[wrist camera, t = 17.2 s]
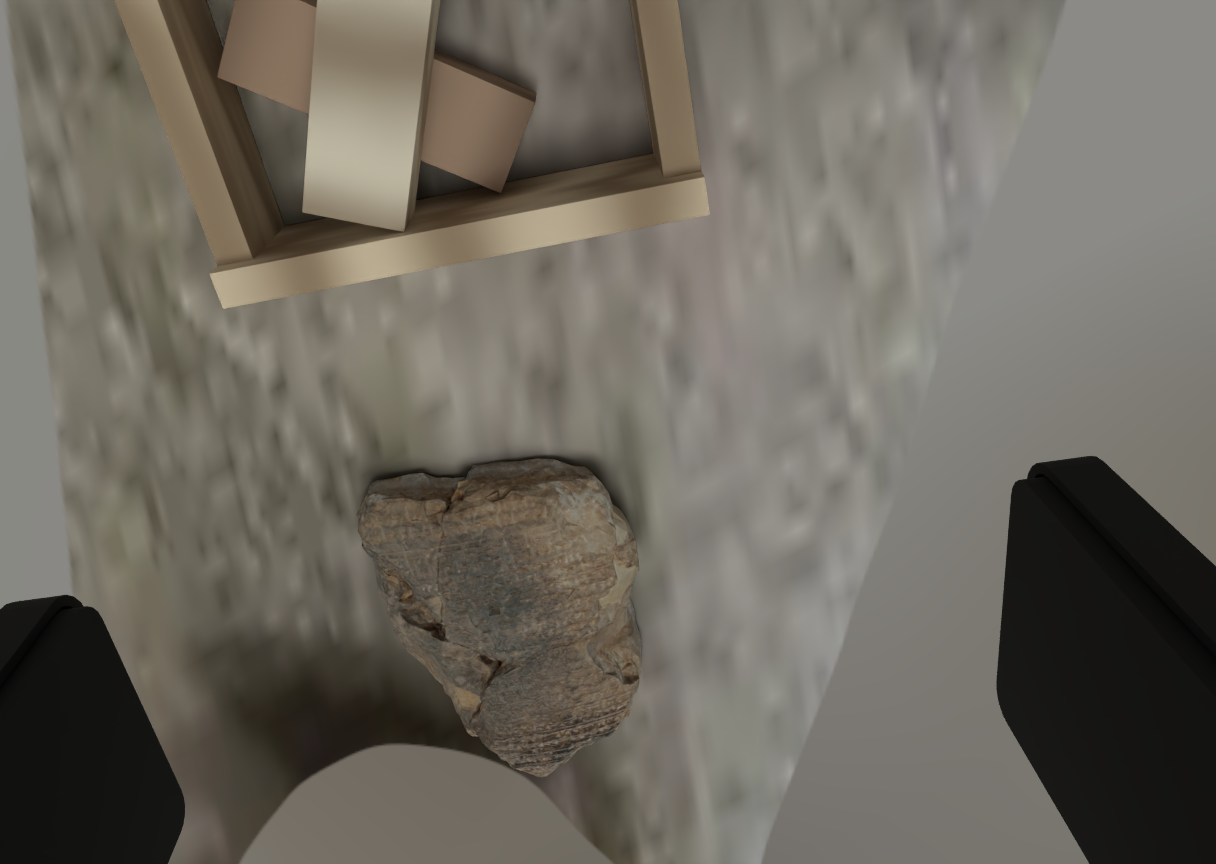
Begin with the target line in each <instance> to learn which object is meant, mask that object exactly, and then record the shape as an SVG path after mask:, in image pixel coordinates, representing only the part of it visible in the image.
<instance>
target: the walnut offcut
mask: <svg viewBox="0 0 1216 864" xmlns="http://www.w3.org/2000/svg"><path fill="white" fill-rule="evenodd" d="M316 9H317V0H235V2H234V7H233V11H232V15H231V20H230V24H229V28H228V33H227V37H226V41H225V46H224V50H223V54H222V58H221V63H220V67H219V71H218V76H217V77H218V78H220V79H223V80H225V81H228V82H230V83H233V84H235V85H238V86H240V87H242V88H245V89H247V90H250V91H252V92H255V93H257V94H260V95H262V96H264V97H267V98H269V99H272V100H274V101H277V102H279V103H282V104H284V105H286V106H289V107H291V108H294V109H296V110H299V111H301V112H304V113H306V114H308V115H309V109H310V95H311V81H312V66H313V52H314V38H315V23H316ZM535 101H536V93H534V92H532V91H529V90H527V89H525V88H523V87H520V86H518V85H516V84H513V83H511V82H509V81H507V80H504V79H502V78H500V77H497V76H495V75H493V74H491V73H488V72H486V71H484V70H481V69H479V68H477V67H475V66H472V65H470V64H468V63H465V62H463V61H461V60H459V59H456V58H454V57H452V56H449V55H447V54H445V53H443V52H440V51H438V50H436V49H435V50H434V58H433V66H432V74H431V82H430V91H429V99H428V107H427V115H426V123H425V131H424V139H423V147H422V156H421V161H423V162H426V163H428V164H431V165H433V166H436V167H438V168H441V169H443V170H445V171H448V172H450V173H453V174H455V175H458V176H460V177H463V178H465V179H467V180H470V181H472V182H475V183H477V184H480V185H482V186H485V187H487V188H489V189H492V190H494V191H497V192H499V193H501V192H502V189H503V187H504V184H505V182H506V179H507V176H508V174H509V171H510V168H511V166H512V163H513V160H514V158H515V155H516V152H517V150H518V147H519V144H520V142H521V139H522V136H523V134H524V131H525V128H526V126H527V123H528V120H529V118H530V115H531V112H532V110H533V107H534V105H535Z"/></svg>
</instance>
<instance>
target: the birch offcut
mask: <svg viewBox="0 0 1216 864" xmlns="http://www.w3.org/2000/svg"><path fill="white" fill-rule="evenodd" d="M440 1H441V0H317V9H316V23H315V38H314V52H313V66H312V81H311V95H310V109H309V123H308V138H307V152H306V166H305V181H304V195H303V209H302V212H303V213H308V214H314V215H319V216H324V217H329V218H334V219H339V220H345V221H350V222H355V223H360V224H365V225H370V226H376V227H381V228H386V229H391V230H396V231H401V232H405V230H406V228H407V226H408V224H409V222H410V220H411V218H412V217H413V215H414V212H415V204H416V196H417V188H418V180H419V172H420V164H421V156H422V147H423V139H424V131H425V123H426V115H427V107H428V99H429V91H430V82H431V74H432V66H433V58H434V50H435V42H436V34H437V26H438V18H439V9H440Z"/></svg>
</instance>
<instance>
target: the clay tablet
mask: <svg viewBox="0 0 1216 864" xmlns="http://www.w3.org/2000/svg"><path fill="white" fill-rule="evenodd" d="M357 516H358V517H359V526H358V532H359V534H360V536H361V539H362V541H363V543H362V547H363V549H364V550H365V551H366V553H367V554H368V555H369V556H370V557H372V558H373V560H374V563H375V566H376V575H377V584H378V592H379V593H380V594H381V595H382V596H383V597H384V599H385V600H386V602H387V604H388V614H389V616H390V618H391V620H392V623H393V625H394V628H395V629H394V631H395V633H396V635H397V637H398V638H399V640H400V642H401V643H402V644H403V645H405V646H406V651H408V652H409V653H410V654H411V655H413V656H414V657H415V658H416V659H417V660H419V661H420V662H421V663H422V664H424V665H425V666H426V667H427V668H428V670H429V672H430V673H431V674H432V675H433V676H434V678H435V679H436V680H437V681H439V682H440V683H441V684H442V685H443V687H444V691H445V693H446V694H448V695H449V696H450V697H451V699H452V701H453V704H454V707H455V710H456V712H457V713H458V714H459V715H460V718H461V720H462V722H463V725H464V727H465V729H466V730H467V732H468V733H469V734H470V735H472V736H478V737H479V738H480V740H481V741H482V742H483V743H484V744H485V746H486V747H487V748H488V749H489V750H491V751H493V752H495V753H496V754H497V755H498V756H499V757H500V759H502V760H504V761H507V762H508V763H509V765H510V766H511V767H512V768H514V769H518V770H521V771H524V772H527V773H530V774H533V775H535V776H538V777H545V776H548V775H549V774H550V773H552V772H553V771H554V770H555V769H556V768H558V767H559V766H560V765H562V764H564V763H566V762H567V761H568V760H569V759H570V758H571V757H572V756H573V755H574V754H575V753H576V751H577V750H579V749H581V748H582V747H586V746H590V745H591V744H593V743H594V742H596V741H598V740H600V739H602V738H604V737H609V736H610V735H611V734H612V733H613V732H614V731H616V730H617V728H618V727H619V725H620V724H621V722H622V721H623V719H624V718H625V717H628V716H629V711H630V707H631V706H632V698H633V696H634V694H635V693H636V692H637V689H638V687H639V674H640V672H641V663H642V656H641V637H640V634H639V630H638V627H637V624H636V619H635V613H634V608H633V604H632V600H631V589H632V586H633V581H634V577H635V575H636V573H637V572H638V570H639V559H638V552H637V546H636V540H635V537H634V535H633V532H632V530H631V527H630V525H629V523H628V521H627V519H626V518H625V516H624V515H623V513H622V511H621V510H620V509H618V508H617V507H616V506H614V505H613V504H612V502H611V499H610V496H609V493H608V491H607V490H606V489H605V487H604V484H602V483H601V482H600V481H599V480H598V479H597V478H596V477H595V476H594V474H593V473H592V472H591V471H589V470H588V469H587V468H586V467H585V466H572V465H569V464H566V463H564V462H561V461H558V460H555V459H531V460H521V461H512V462H505V461H495V462H491V463H487V464H482V465H473V466H472V469H471V470H470V471H469V472H468V474H467V477H466V478H465V477H458V478H446V477H443V478H435V477H433V476H430V475H427V474H425V473H413V474H407V475H403V476H400V477H395V478H389V479H383V480H377V481H375V482H373V483H372V484H370V485H369V488H368V491H367V494H366V496H365V498H364V499H363V501H362V503H361V506H360V508H359V510H358V512H357Z"/></svg>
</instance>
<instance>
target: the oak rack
mask: <svg viewBox="0 0 1216 864" xmlns="http://www.w3.org/2000/svg"><path fill="white" fill-rule="evenodd" d="M114 1H115V4H116V6H117V9H118V11H119V14H120V17H121V19H122V22H123V24H124V27H125V29H126V32H127V35H128V37H129V40H130V42H131V45H132V47H133V50H134V53H135V55H136V58H137V60H138V63H139V65H140V68H141V71H142V73H143V76H144V78H145V81H146V83H147V86H148V89H149V91H150V94H151V96H152V99H153V101H154V104H155V107H156V109H157V112H158V114H159V117H160V120H161V122H162V125H163V127H164V130H165V132H166V135H167V138H168V140H169V143H170V145H171V148H172V150H173V153H174V156H175V158H176V161H177V163H178V166H179V168H180V171H181V174H182V176H183V179H184V181H185V184H186V186H187V189H188V192H189V194H190V197H191V199H192V202H193V204H194V207H195V210H196V212H197V215H198V217H199V220H200V222H201V225H202V228H203V230H204V233H205V235H206V238H207V240H208V243H209V246H210V248H211V251H212V253H213V256H214V259H215V261H216V264H217V267H216V268H215V269H214V270H213V271H212V272H211V273H210V276H211V279H212V282H213V284H214V287H215V289H216V292H217V294H218V297H219V299H220V302H221V304H222V307H223V309H225V308H230V307H235V306H241V305H246V304H251V303H256V302H261V301H266V300H272V299H277V298H282V297H287V296H292V295H297V294H302V293H308V292H313V291H318V290H323V289H328V288H333V287H339V286H344V285H349V284H354V283H359V282H364V281H370V280H375V279H380V278H385V277H390V276H395V275H401V274H406V273H411V272H416V271H421V270H426V269H431V268H437V267H442V266H447V265H452V264H457V263H462V262H468V261H473V260H478V259H483V258H488V257H493V256H499V255H504V254H509V253H514V252H519V251H524V250H530V249H535V248H540V247H545V246H550V245H555V244H560V243H566V242H571V241H576V240H581V239H586V238H591V237H597V236H602V235H607V234H612V233H617V232H622V231H628V230H633V229H638V228H643V227H648V226H653V225H659V224H664V223H669V222H674V221H679V220H684V219H690V218H695V217H700V216H705V215H710V213H709V206H708V198H707V191H706V184H705V177H704V175H703V174H702V172H701V166H700V159H699V151H698V144H697V137H696V130H695V122H694V115H693V108H692V101H691V93H690V86H689V79H688V72H687V64H686V57H685V50H684V43H683V35H682V28H681V21H680V14H679V6H678V0H629V3H630V9H631V15H632V22H633V28H634V34H635V40H636V47H637V53H638V59H639V66H640V72H641V78H642V84H643V91H644V97H645V103H646V109H647V116H648V122H649V128H650V135H651V141H652V147H653V153H654V154H649V155H644V156H639V157H634V158H629V159H624V160H619V161H613V162H608V163H603V164H598V165H593V166H588V167H583V168H578V169H573V170H568V171H563V172H558V173H553V174H548V175H543V176H537V177H532V178H527V179H522V180H517V181H512V182H507V183H505V184H504V187H503V189H502V192H501V193H499V192H497V191H494V190H492V189H489V188H487V187H482V188H477V189H472V190H467V191H461V192H456V193H451V194H446V195H441V196H436V197H431V198H426V199H421V200H416V204H415V212H414V215H413V217H412V218H411V220H410V222H409V224H408V226H407V228H406V230H405V232H401V231H396V230H391V229H386V228H381V227H376V226H370V225H365V224H360V223H355V222H350V221H345V220H339V219H334V218H325V219H320V220H314V221H309V222H304V223H299V224H294V225H289V226H284V223H283V220H282V218H281V215H280V212H279V209H278V206H277V203H276V200H275V197H274V194H273V192H272V189H271V186H270V183H269V180H268V177H267V174H266V171H265V169H264V166H263V163H262V160H261V157H260V154H259V151H258V148H257V146H256V143H255V140H254V137H253V134H252V131H251V128H250V125H249V123H248V120H247V117H246V114H245V111H244V108H243V105H242V102H241V100H240V97H239V94H238V91H237V88H236V85H235V84H233V83H230V82H228V81H225V80H223V79H220V78H218V77H217V76H218V71H219V67H220V63H221V58H222V54H223V48H222V45H221V42H220V39H219V36H218V33H217V31H216V28H215V25H214V22H213V19H212V16H211V13H210V10H209V8H208V5H207V2H206V0H114Z"/></svg>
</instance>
